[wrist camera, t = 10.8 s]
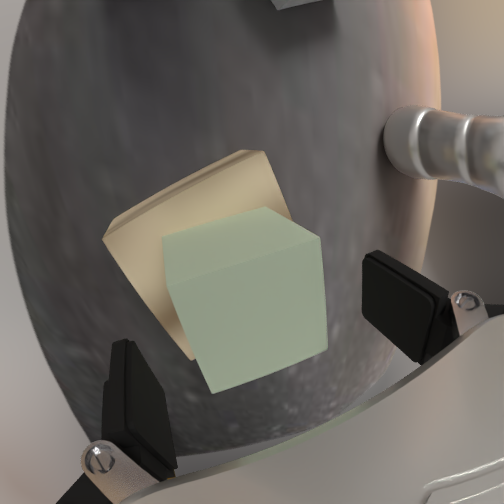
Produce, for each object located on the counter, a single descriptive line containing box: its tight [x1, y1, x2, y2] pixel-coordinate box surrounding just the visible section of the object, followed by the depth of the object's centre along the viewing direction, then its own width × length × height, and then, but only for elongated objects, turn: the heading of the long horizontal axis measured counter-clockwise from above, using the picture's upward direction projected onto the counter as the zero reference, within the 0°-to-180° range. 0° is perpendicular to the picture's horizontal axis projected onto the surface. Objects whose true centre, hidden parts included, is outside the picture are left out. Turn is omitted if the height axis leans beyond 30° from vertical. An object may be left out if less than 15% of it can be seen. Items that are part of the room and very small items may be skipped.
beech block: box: [102, 150, 293, 361], centre depth 19 cm, size 10×10×5 cm
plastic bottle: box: [383, 105, 504, 198], centre depth 14 cm, size 6×7×20 cm
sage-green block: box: [162, 206, 328, 394], centre depth 14 cm, size 6×6×6 cm
